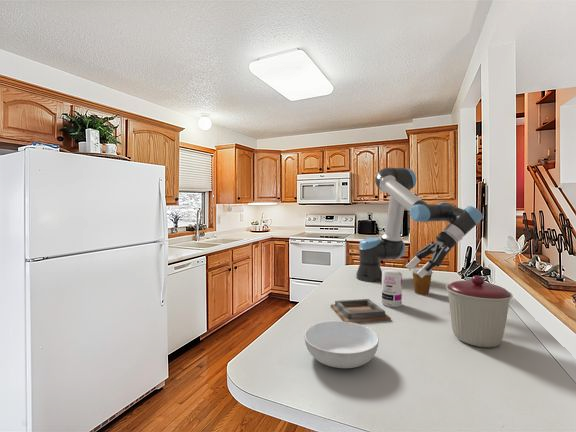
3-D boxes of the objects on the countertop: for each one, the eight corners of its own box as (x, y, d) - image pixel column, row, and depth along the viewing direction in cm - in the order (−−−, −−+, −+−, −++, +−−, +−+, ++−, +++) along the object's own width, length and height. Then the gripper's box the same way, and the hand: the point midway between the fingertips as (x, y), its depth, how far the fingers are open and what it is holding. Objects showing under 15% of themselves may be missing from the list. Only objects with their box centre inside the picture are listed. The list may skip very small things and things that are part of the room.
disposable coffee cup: (435, 296, 143) (436, 271, 142) (415, 295, 143) (416, 271, 142) (427, 290, 152) (427, 266, 152) (408, 290, 152) (408, 266, 152)
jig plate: (330, 306, 128) (330, 299, 128) (370, 304, 131) (370, 297, 131) (345, 323, 111) (345, 315, 111) (390, 320, 114) (390, 312, 113)
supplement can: (398, 301, 135) (399, 268, 134) (403, 308, 126) (404, 273, 126) (380, 301, 135) (380, 268, 135) (384, 307, 127) (384, 272, 126)
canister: (446, 324, 109) (447, 267, 108) (507, 335, 100) (509, 273, 99) (443, 344, 94) (444, 278, 93) (514, 360, 85) (517, 286, 84)
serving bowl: (328, 335, 101) (328, 315, 101) (389, 355, 88) (390, 332, 87) (289, 361, 85) (289, 337, 85) (357, 390, 72) (357, 362, 71)
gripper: (472, 247, 115) (431, 285, 116) (442, 239, 140) (409, 271, 141) (458, 233, 115) (417, 272, 117) (430, 228, 140) (397, 260, 141)
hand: (413, 271), depth 129 cm, fingers open, 13 cm apart
